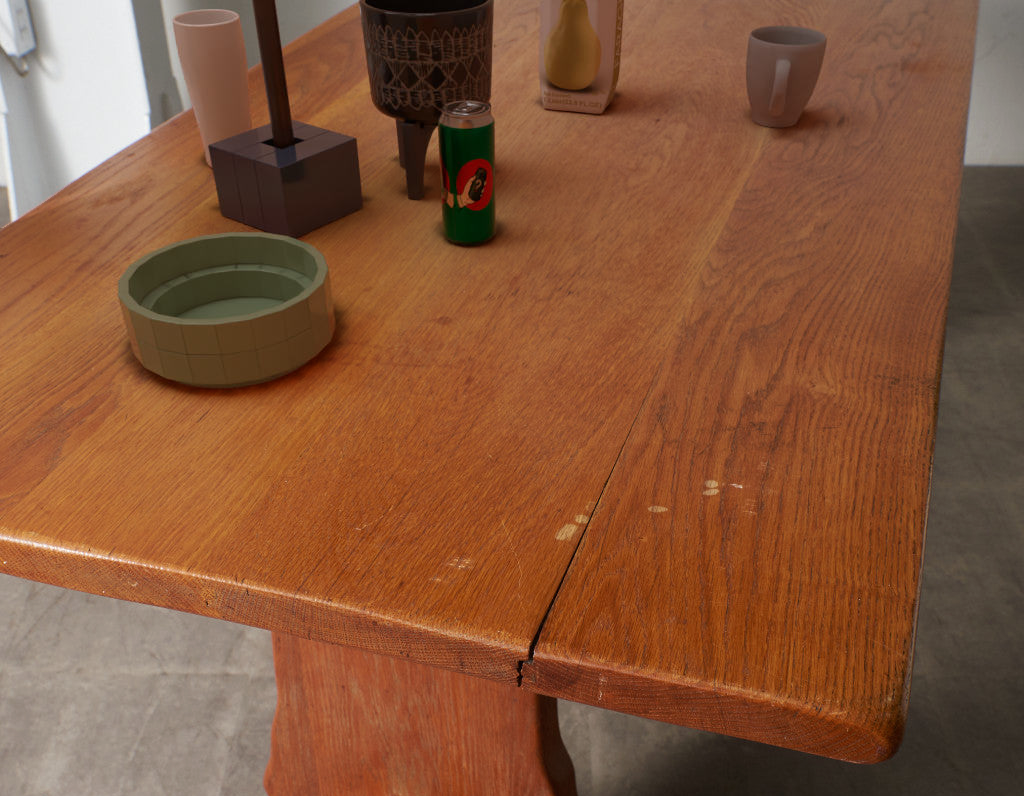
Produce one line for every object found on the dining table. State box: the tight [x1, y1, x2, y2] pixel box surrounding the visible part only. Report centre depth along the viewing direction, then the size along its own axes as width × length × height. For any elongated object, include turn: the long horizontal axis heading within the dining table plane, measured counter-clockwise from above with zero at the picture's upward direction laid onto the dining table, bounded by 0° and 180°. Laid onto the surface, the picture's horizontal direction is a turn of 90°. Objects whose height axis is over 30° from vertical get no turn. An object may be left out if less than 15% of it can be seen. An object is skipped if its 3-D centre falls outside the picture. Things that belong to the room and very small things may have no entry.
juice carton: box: [538, 0, 625, 115], centre depth 119 cm, size 9×8×24 cm
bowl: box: [117, 231, 337, 389], centre depth 79 cm, size 16×16×6 cm
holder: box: [208, 119, 364, 239], centre depth 99 cm, size 10×10×7 cm
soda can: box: [437, 101, 497, 247], centre depth 93 cm, size 5×5×12 cm
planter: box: [358, 0, 495, 201], centre depth 102 cm, size 13×13×18 cm
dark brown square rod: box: [251, 0, 295, 150], centre depth 95 cm, size 2×2×20 cm
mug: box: [745, 25, 828, 128], centre depth 118 cm, size 12×9×10 cm
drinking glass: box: [172, 8, 253, 169], centre depth 107 cm, size 7×7×15 cm
